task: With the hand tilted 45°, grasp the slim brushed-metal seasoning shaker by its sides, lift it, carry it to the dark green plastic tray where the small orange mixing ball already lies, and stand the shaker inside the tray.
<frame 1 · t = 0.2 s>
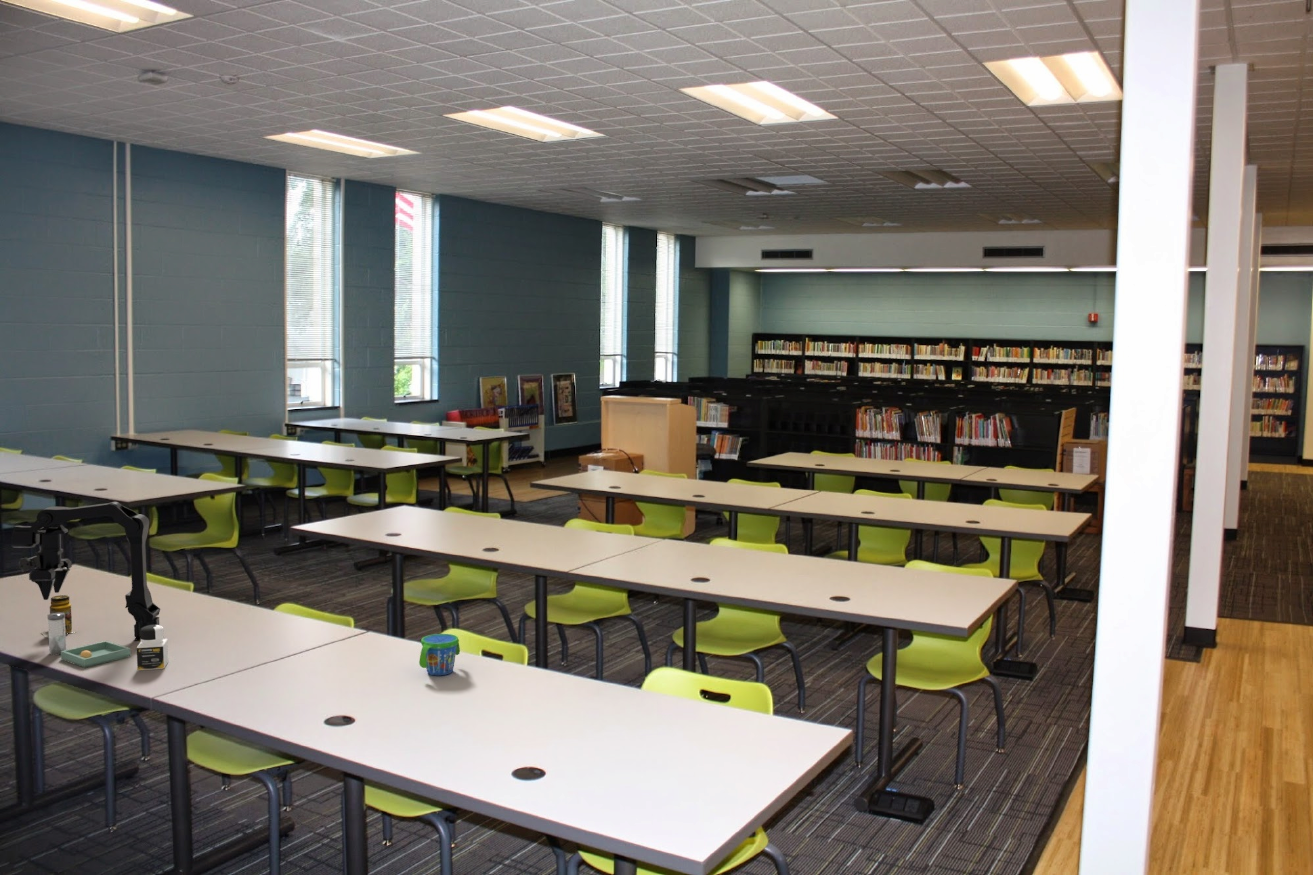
hand: (51, 596, 321), 15 cm above the table, tool pointing down, fingers open, 9 cm apart
shaker: (57, 652, 311), on the table
tray: (96, 657, 307), on the table
snack cup: (440, 673, 296), on the table
medicine bottle: (153, 666, 299), on the table
condiment: (58, 633, 332), on the table
ball: (85, 655, 302), point 2 cm above the table, touching tray
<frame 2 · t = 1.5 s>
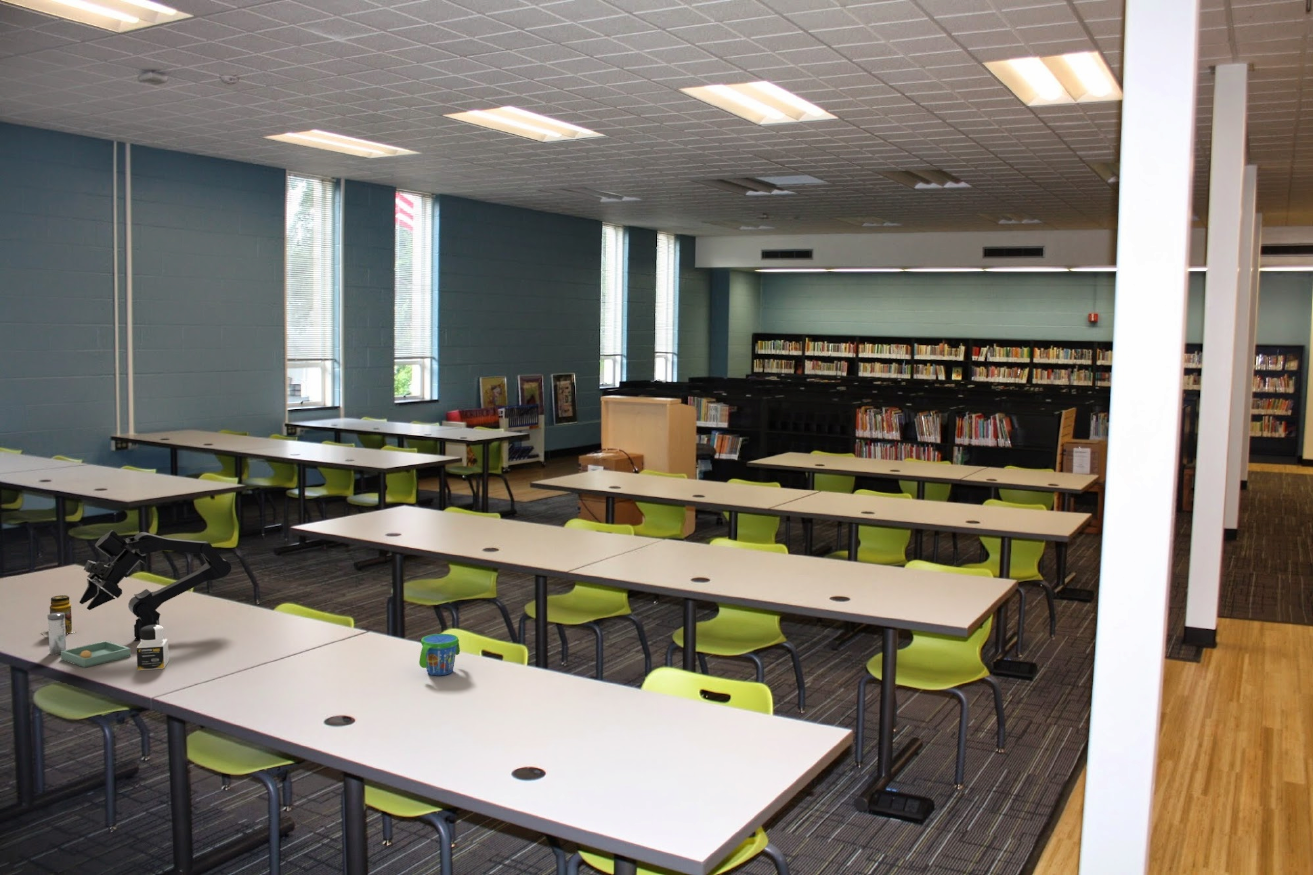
hand: (84, 606, 315), 13 cm above the table, tool tilted 45°, fingers open, 9 cm apart
nothing on the table moved.
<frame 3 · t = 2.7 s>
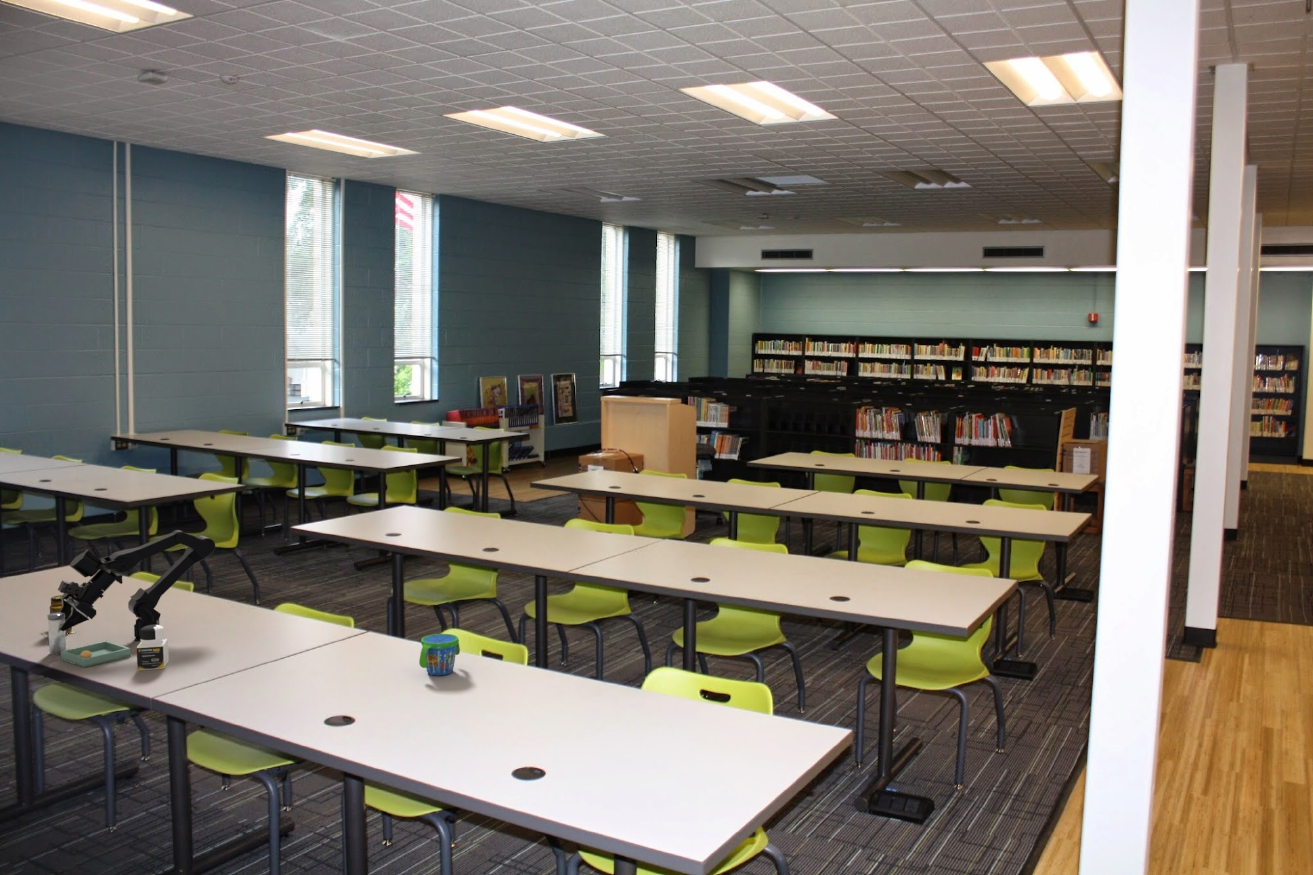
hand: (57, 627, 310), 8 cm above the table, tool tilted 45°, fingers open, 9 cm apart
nothing on the table moved.
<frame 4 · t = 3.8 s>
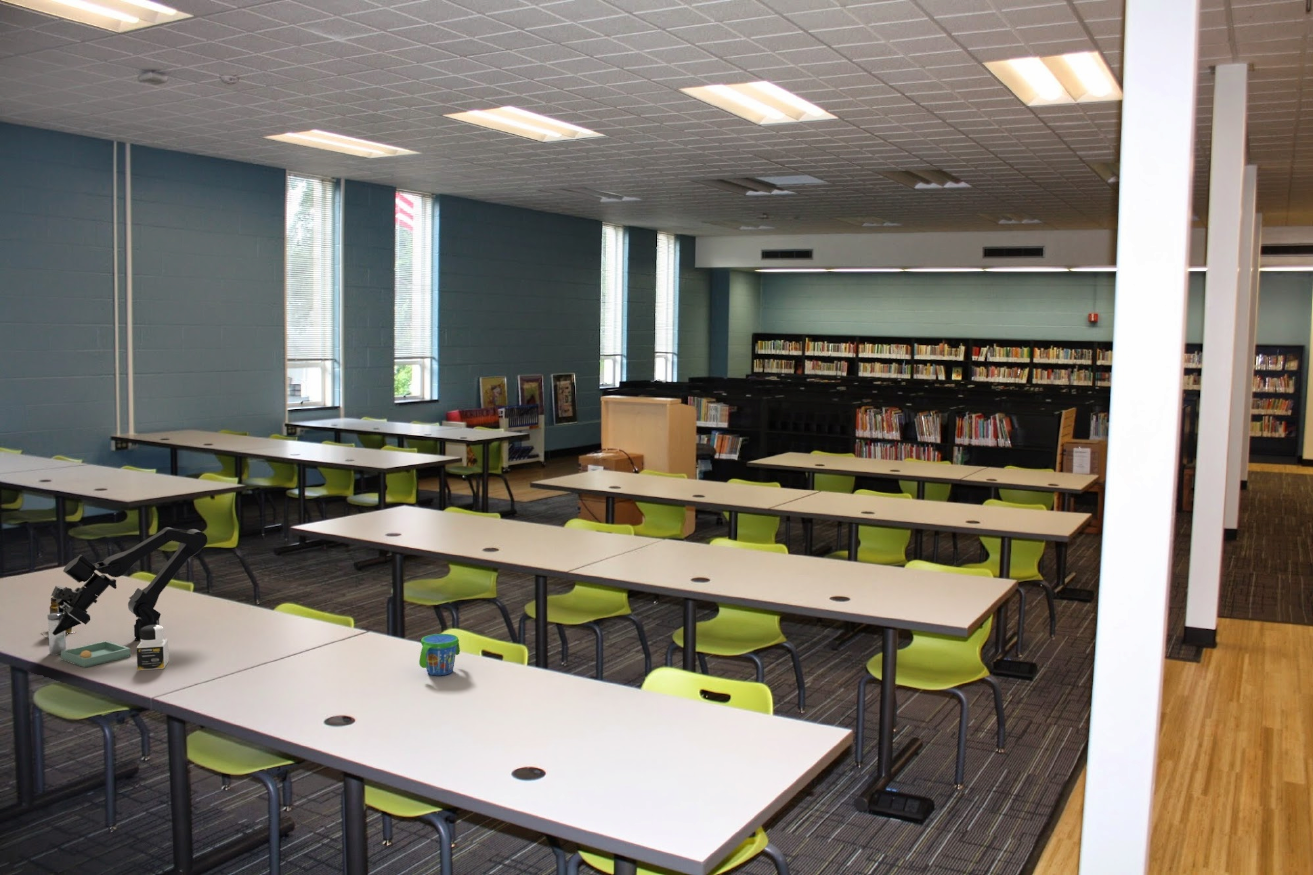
hand: (51, 632, 309), 7 cm above the table, tool tilted 45°, fingers closed on shaker, 4 cm apart
shaker: (57, 652, 311), on the table, touching gripper
everything else where it was.
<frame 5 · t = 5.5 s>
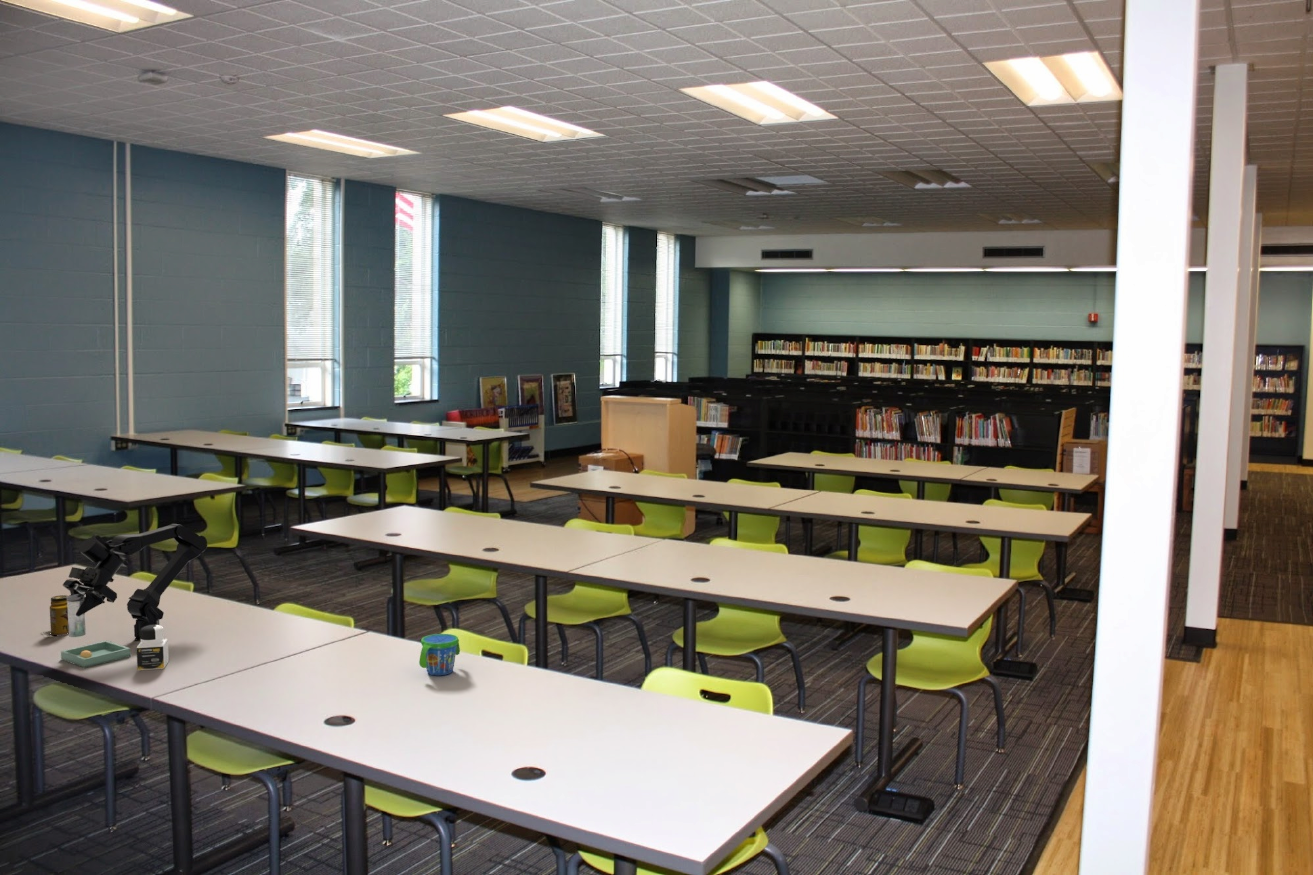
hand: (72, 614, 305), 13 cm above the table, tool tilted 45°, fingers closed on shaker, 4 cm apart
shaker: (77, 634, 307), point 7 cm above the table, touching gripper
everything else where it was.
when the fingers open (8 cm above the table, at t = 7.2 s): shaker stays where it is, resting on tray.
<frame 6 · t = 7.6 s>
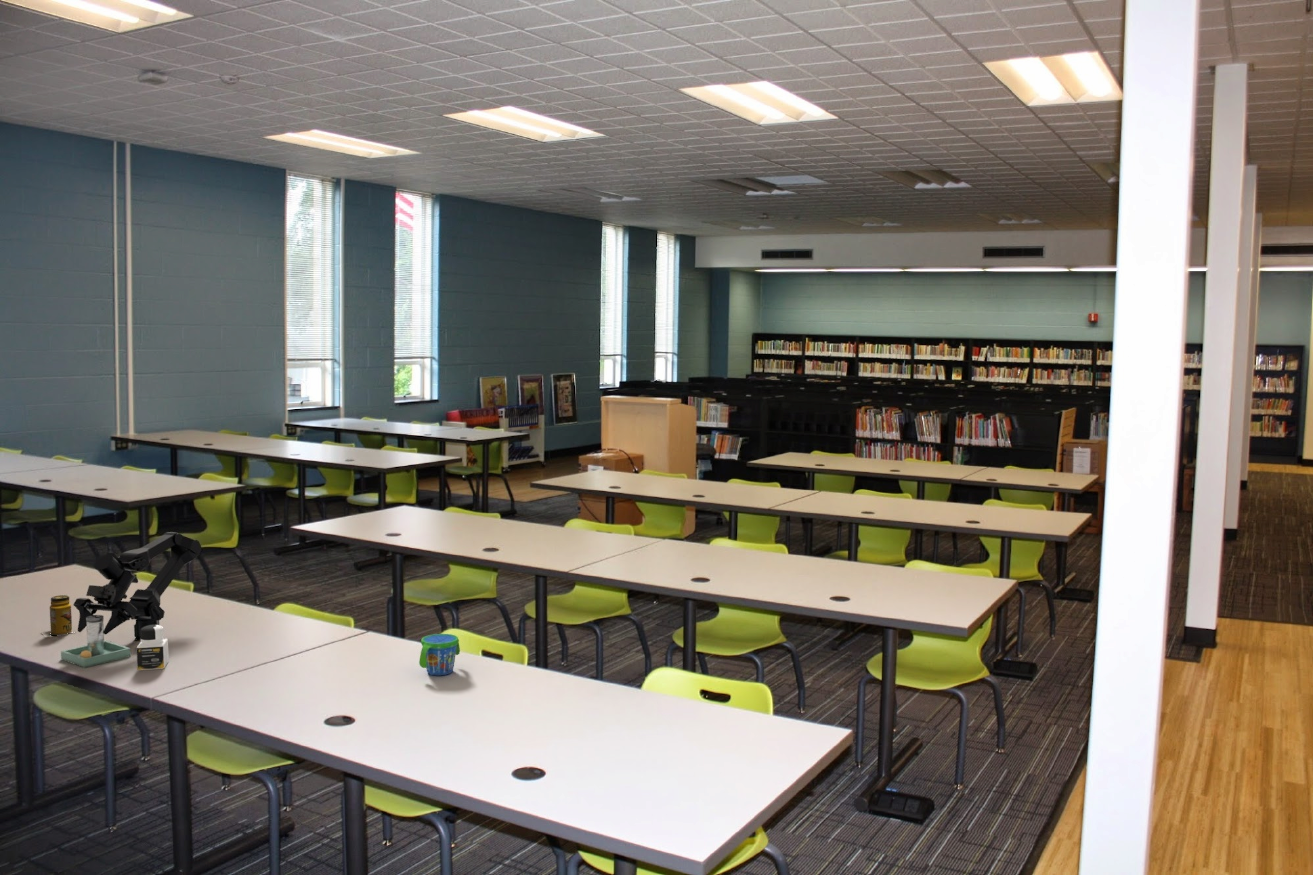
hand: (91, 632, 304), 8 cm above the table, tool tilted 45°, fingers open, 9 cm apart
shaker: (96, 655, 306), point 1 cm above the table, touching tray
everything else where it was.
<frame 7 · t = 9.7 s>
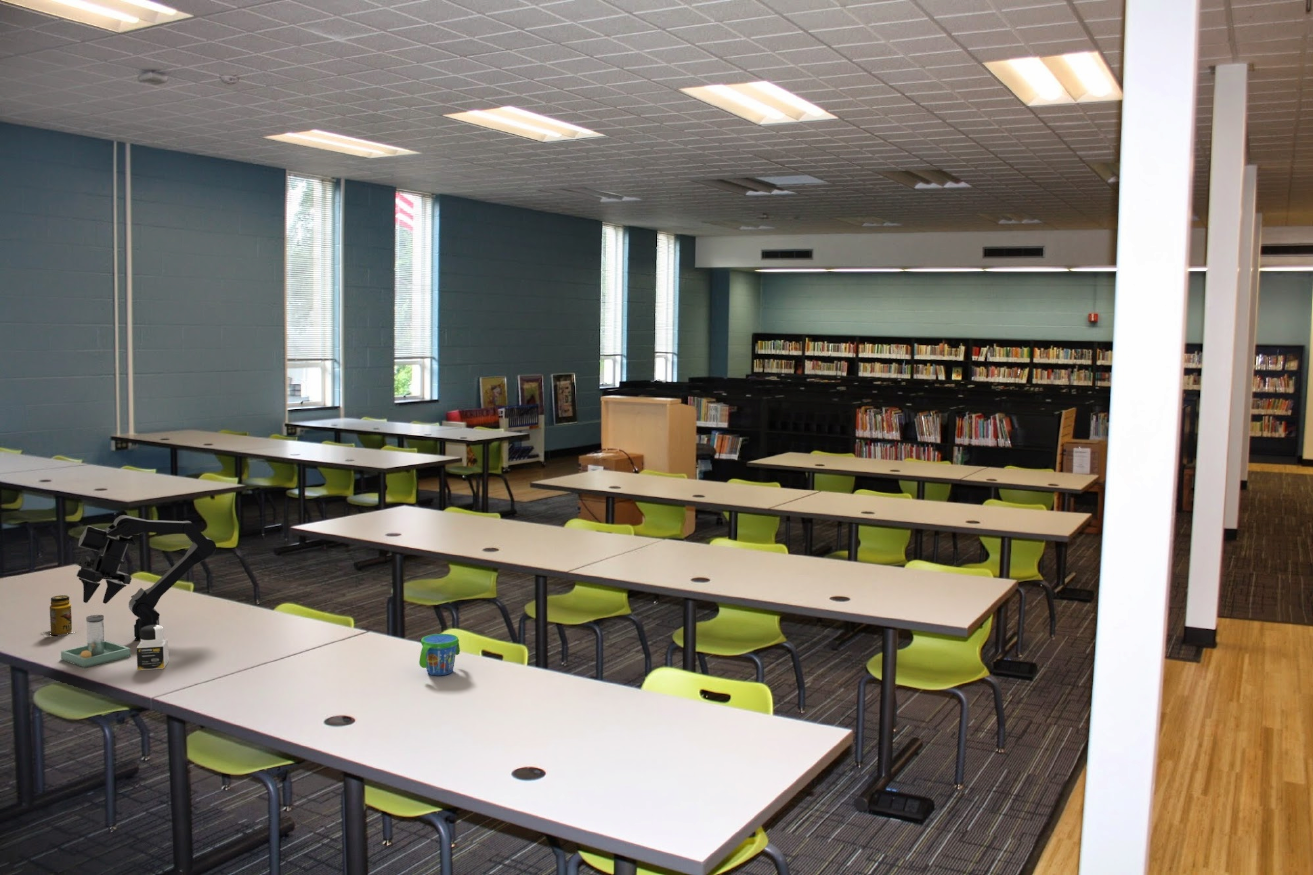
hand: (94, 602, 318), 14 cm above the table, tool tilted 20°, fingers open, 9 cm apart
nothing on the table moved.
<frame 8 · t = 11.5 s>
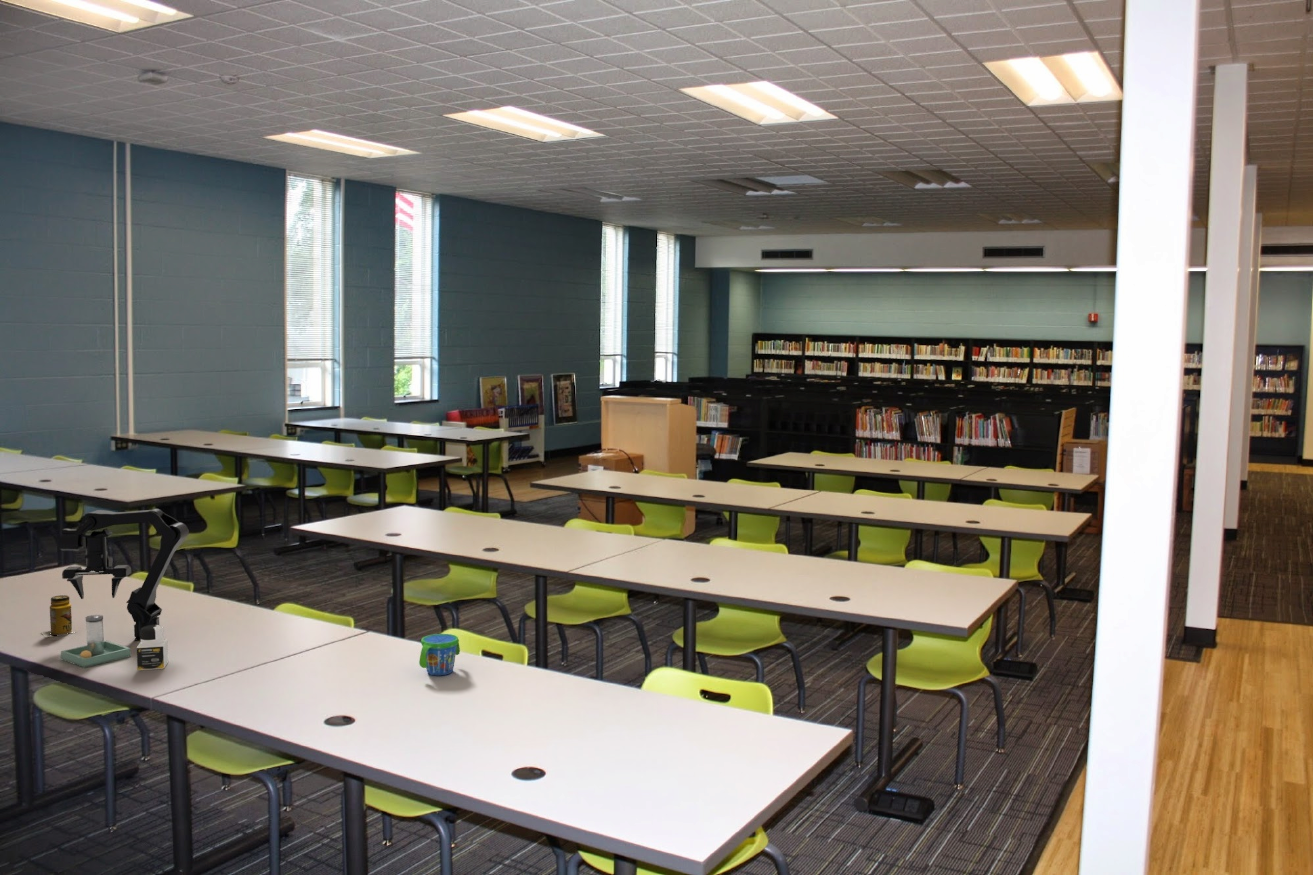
hand: (98, 598, 326), 13 cm above the table, tool pointing down, fingers open, 9 cm apart
nothing on the table moved.
at the end: shaker inside the target area on the tray (0.0 cm from its centre), point 0.6 cm above the tray's base; shaker tilted 1°; the gripper is holding nothing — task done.
